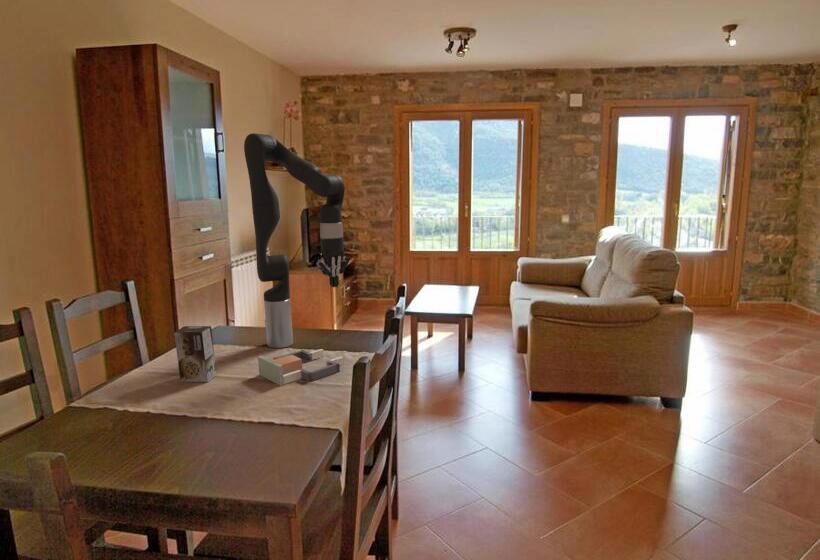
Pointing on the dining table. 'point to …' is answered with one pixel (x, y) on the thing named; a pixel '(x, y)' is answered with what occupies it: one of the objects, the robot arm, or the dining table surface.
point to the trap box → (275, 370)
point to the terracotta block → (289, 363)
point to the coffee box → (195, 353)
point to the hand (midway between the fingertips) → (334, 286)
